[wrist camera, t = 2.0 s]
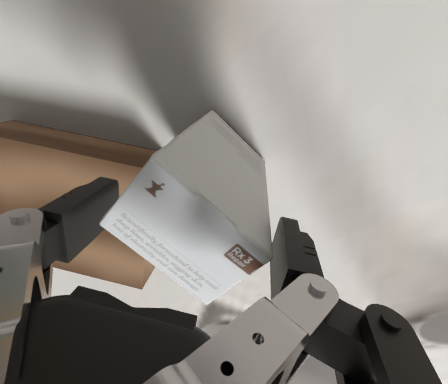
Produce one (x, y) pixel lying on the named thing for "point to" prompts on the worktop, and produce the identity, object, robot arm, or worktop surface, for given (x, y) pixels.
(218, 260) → the skincare box
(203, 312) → the worktop surface
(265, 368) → the robot arm
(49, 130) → the base
